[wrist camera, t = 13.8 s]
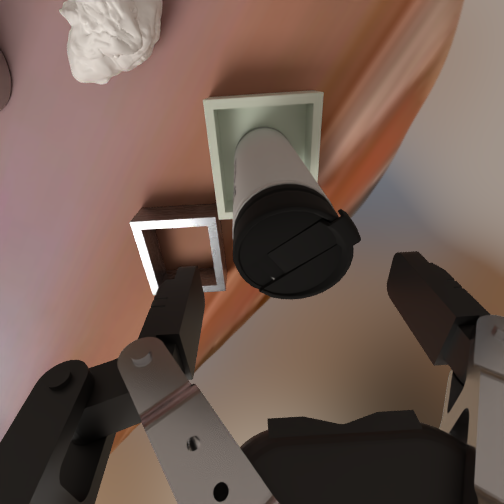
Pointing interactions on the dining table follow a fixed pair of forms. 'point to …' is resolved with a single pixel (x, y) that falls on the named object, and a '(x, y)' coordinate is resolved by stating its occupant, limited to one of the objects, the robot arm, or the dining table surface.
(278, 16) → the dining table surface
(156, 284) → the sleeve
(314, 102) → the tray
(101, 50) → the bust
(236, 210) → the travel mug
